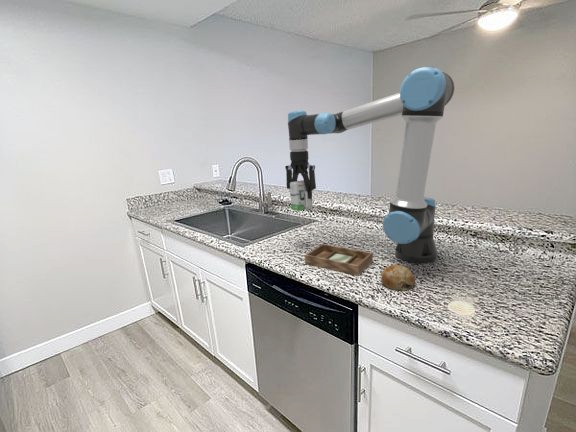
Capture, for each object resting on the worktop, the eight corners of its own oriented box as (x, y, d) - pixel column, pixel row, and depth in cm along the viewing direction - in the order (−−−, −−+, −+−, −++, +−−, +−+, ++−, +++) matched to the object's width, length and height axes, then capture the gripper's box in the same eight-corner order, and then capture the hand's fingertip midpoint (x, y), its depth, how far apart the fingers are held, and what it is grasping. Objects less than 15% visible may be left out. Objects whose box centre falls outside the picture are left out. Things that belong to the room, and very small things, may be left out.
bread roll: (391, 302, 94) (399, 285, 89) (371, 277, 101) (379, 260, 96) (415, 294, 98) (425, 277, 93) (395, 270, 105) (403, 254, 100)
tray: (372, 261, 115) (372, 252, 114) (358, 275, 105) (358, 266, 104) (322, 251, 128) (322, 243, 127) (305, 263, 117) (304, 255, 116)
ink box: (298, 211, 127) (296, 183, 124) (290, 209, 130) (288, 182, 127) (313, 207, 132) (312, 180, 129) (305, 206, 135) (304, 179, 132)
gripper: (323, 149, 122) (325, 205, 128) (285, 150, 133) (289, 202, 139) (314, 150, 116) (316, 209, 122) (275, 151, 127) (279, 205, 133)
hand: (301, 205), depth 131 cm, fingers closed on ink box, 6 cm apart
